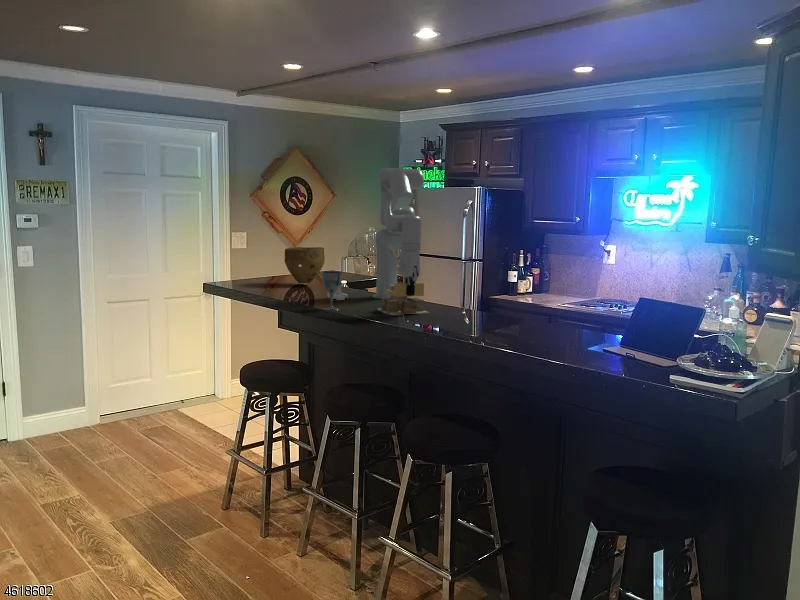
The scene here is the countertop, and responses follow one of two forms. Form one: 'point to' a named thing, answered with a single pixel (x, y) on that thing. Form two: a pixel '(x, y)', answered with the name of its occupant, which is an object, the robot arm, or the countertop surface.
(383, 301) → the stepped wooden block
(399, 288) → the tan wooden block
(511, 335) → the countertop surface
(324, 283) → the wine glass
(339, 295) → the seated beast figurine
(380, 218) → the robot arm
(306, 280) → the bowl
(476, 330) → the countertop surface
